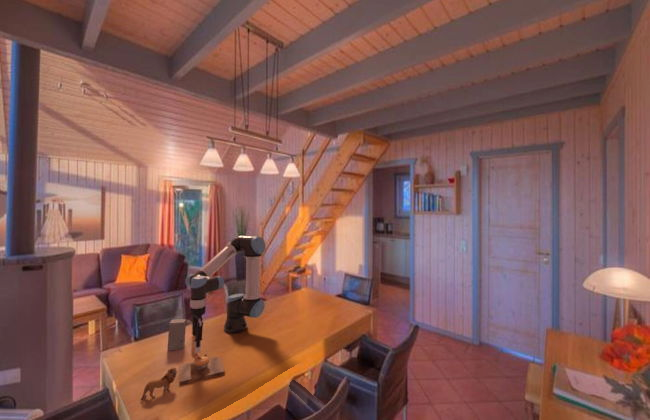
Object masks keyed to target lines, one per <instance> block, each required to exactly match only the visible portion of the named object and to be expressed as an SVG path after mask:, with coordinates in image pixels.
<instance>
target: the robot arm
mask: <svg viewBox="0 0 650 420" xmlns="http://www.w3.org/2000/svg"><path fill="white" fill-rule="evenodd" d="M266 247H267V246H266V241H265V239H264V238H263V237H262V236H259V235H246V234H244V235H239V236H236V237H234V238H232V239H231V240H229V241H227V243H225V245H224V247H223V248H222V249H221V250H220V251H218V252H217V254H216V255H214V257H212V258H211V259H210V260H209V261H207V263H205V265H203V266H202V267H201V268H200V269H199V270H198V271H197V272H195V273H191V274H188V275H187V276H186V277H185V280H184V281H185V282H184V283H185V285H186V286H187V287H188V288H190V298H189V315H190V316H191V318H192V324H191V329H192V331H191V334H192V336H195V335H196V340H194V342H195V351H194V353H195V354H196V353H198V354H199V353H201V346H202V345H201V342H202V340H203V327H204V322H203V317H202V316H203V315H205V314H206V312H207V311H206V304H207V303H206V302H207V300H208V299H207V294H208V293H210V292H214V291H219V290H221V289H222V288H223V287H224V285H225V280H224V278H223V277H222V276H220V275H215V276H213V275H214V274H215V273H216V272H217V271H218V270H219V269H220V268H221V267H223V265H225V264H226V263H227V262H228V261H229V260H230V259H231V258H232V257H235V256H237V255H238V254H240V253H243V257H244V258H245V262H246V263H245V293H235V294H231V295H229V296H228V297H227V301H226V320H225V323H224V326H223V330H224V332H225V333H230V334H237V333H240V332H244V331H245V330H247V328H248V323H247V321H246V317H248V318H254V319H256V318H257V319H258V318H259V317H260V316H261V315H262V314H263V312H264V310H265V307H266V306H265V304H266V302H264V300H263V299H262V295H261V294H260V258H261V257H263V256H262V255H263V254H264V253H265V250H266Z"/></svg>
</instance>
